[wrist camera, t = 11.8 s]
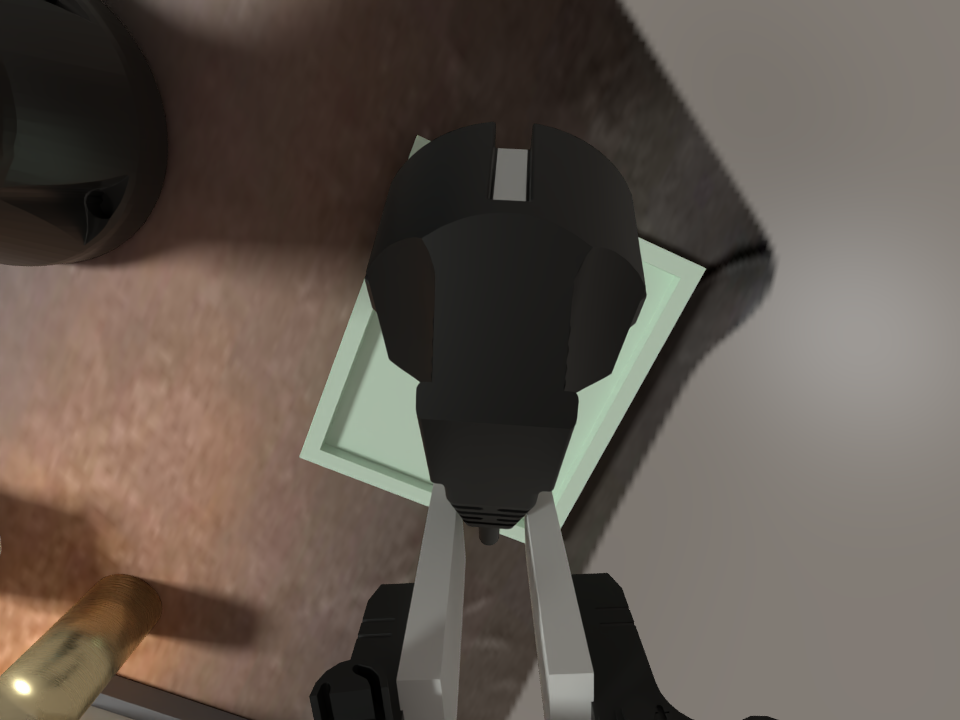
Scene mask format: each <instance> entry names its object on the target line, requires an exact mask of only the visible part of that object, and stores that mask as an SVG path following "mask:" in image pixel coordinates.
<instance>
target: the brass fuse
mask: <svg viewBox="0 0 960 720" xmlns="http://www.w3.org/2000/svg"><path fill="white" fill-rule="evenodd" d="M161 613H162V604H161V600H160V598H159V596H158V594H157V593H156V591H155V590H154V589H153V588H152V587H151V586H150V585H149V584H147V583H146V582H145V581H143V580H141V579H139V578H137V577H134V576H130V575H125V574H115V575H110V576H107V577H105V578H103V579H101V580H100V581H99V582H98V583H97V584H96V585H94V586H93V587H92V588H91V589H90V590H89V591H88V592H87V593H86V594H85V595H84V596H83V597H82V598H81V599H80V600H79V601H78V602H77V603H76V604H75V605H74V606H73V607H72V608H71V609H70V610H69V611H67V612H66V613H65V614H64V615H63V616H62V617H61V618H60V619H59V620H58V621H57V622H56V623H55V624H54V625H53V626H52V627H51V628H50V629H49V630H48V631H47V632H46V633H45V634H44V635H43V636H42V637H40V638H39V639H38V640H37V641H36V642H35V643H34V644H33V645H32V646H31V647H30V648H29V649H28V650H27V651H26V652H25V653H24V654H23V655H22V656H21V657H20V658H19V659H18V660H17V661H16V662H15V663H14V664H12V665H11V666H10V667H9V668H8V669H7V670H6V671H5V672H4V673H3V674H2V675H1V676H0V720H79V719H80V718H81V717H82V716H83V714H84V713H85V712H86V711H87V709H88V708H89V707H90V706H91V704H92V703H93V702H94V701H95V699H96V698H97V697H98V696H99V694H100V693H101V692H102V691H103V689H104V688H105V687H106V685H107V684H108V683H109V682H110V680H111V679H112V678H113V677H114V675H115V674H116V673H117V672H118V670H119V669H120V668H121V667H122V665H123V664H124V663H125V662H126V660H127V659H128V658H129V657H130V655H131V654H132V653H133V652H134V650H135V649H136V648H137V647H138V645H139V644H140V643H141V641H142V640H143V639H144V638H145V636H146V635H147V634H148V633H149V631H150V630H151V629H152V628H153V626H154V625H155V624H156V623H157V621H158V620H159V618H160V616H161Z"/></svg>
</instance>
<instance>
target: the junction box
mask: <svg viewBox="0 0 960 720" xmlns="http://www.w3.org/2000/svg"><path fill="white" fill-rule="evenodd" d="M79 720H248V719H245V718H242V717H239V716H236V715H233V714H230V713H227V712H224V711H221V710H218V709H215V708H212V707H209V706H206V705H203V704H200V703H197V702H194V701H191V700H188V699H185V698H182V697H179V696H176V695H173V694H170V693H167V692H164V691H161V690H158V689H155V688H152V687H149V686H146V685H143V684H140V683H137V682H134V681H131V680H128V679H125V678H122V677H119V676H116V675H114V677H113V678H112V679H111V680H110V682H109V683H108V684H107V685H106V687H105V688H104V689H103V691H102V692H101V693H100V694H99V696H98V697H97V698H96V699H95V701H94V702H93V703H92V704H91V706H90V707H89V708H88V709H87V711H86V712H85V713H84V714H83V716H82V717H81V718H80V719H79Z"/></svg>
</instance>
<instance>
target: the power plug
mask: <svg viewBox="0 0 960 720" xmlns="http://www.w3.org/2000/svg"><path fill="white" fill-rule="evenodd" d="M495 134H496V124H495V122H488V123H481V124H475V125H471V126H467V127H463V128H460V129H457V130H454V131H451V132H449V133H446V134H444V135H442V136H440V137H438V138H436V139H434V140H433V141H431V142H429V143H428V144H426V145H425V146H423V147H422V148H421V149H419V150H418V151H417V152H416V153H415V154H413V155H412V156H411V157H410V158H409V159H408V160H407V161H406V162H405V164H404V165H403V166H402V167H401V168H400V170H399V171H398V172H397V174H396V176H395V177H394V179H393V181H392V182H391V185H390V189H389V192H388V196H387V200H386V203H385V207H384V210H383V214H382V217H381V221H380V224H379V228H378V231H377V235H376V238H375V242H374V245H373V249H372V253H371V256H370V260H369V263H368V267H367V270H366V276H365V283H366V287H367V291H368V294H369V298H370V302H371V306H372V308H373V309H374V310H375V311H376V312H377V315H378V319H379V323H380V327H381V331H382V335H383V339H384V343H385V347H386V351H387V354H388V358H389V360H390V361H391V362H392V363H394V364H395V365H396V366H398V367H399V368H401V369H402V370H403V371H405V372H406V373H408V374H409V375H411V376H412V377H413V378H415V379H416V380H418V381H419V382H420V383H419V384H418V386H417V388H416V414H417V419H418V424H419V428H420V433H421V438H422V442H423V447H424V452H425V457H426V461H427V466H428V471H429V476H430V481H431V482H432V483H436V484H442V485H443V486H444V488H445V493H446V498H447V500H448V501H449V503H451V505H452V506H453V508H454V509H455V510H456V512H457V513H458V514H459V515H460V517H461V518H462V519H463V521H464V522H465V523H466V524H467V525H468V526H472V527H479V539H480V540H481V542H482V543H483V544H485V545H493V544H495V543H496V542H497V541H498V538H499V531H500V529H511V528H513V527H514V526H515V525H516V524H517V523H518V522H519V521H520V520H521V519H522V518H523V517H524V516H525V515H526V514H527V513H528V512H529V511H530V510H531V509H532V508H533V507H534V506H535V505H536V502H537V498H538V494H539V493H540V492H543V491H545V492H551V491H553V490H554V487H555V484H556V481H557V478H558V475H559V472H560V469H561V466H562V463H563V460H564V457H565V454H566V451H567V448H568V445H569V442H570V439H571V436H572V433H573V430H574V428H575V425H576V422H577V415H578V405H579V398H578V395H577V392H579V391H581V390H582V389H584V388H586V387H588V386H590V385H592V384H594V383H596V382H598V381H600V380H602V379H604V378H605V377H607V376H609V375H610V374H612V372H613V369H614V366H615V364H616V361H617V359H618V356H619V354H620V351H621V349H622V346H623V344H624V341H625V339H626V336H627V334H628V331H629V329H630V327H632V326H633V325H634V324H635V323H636V322H637V319H638V317H639V314H640V312H641V309H642V307H643V304H644V302H645V299H646V297H647V293H646V285H645V278H644V272H643V265H642V258H641V252H640V245H639V239H638V232H637V225H636V219H635V212H634V206H633V199H632V194H631V192H630V190H629V187H628V185H627V183H626V181H625V180H624V178H623V177H622V175H621V174H620V172H619V171H618V170H617V168H616V167H615V166H614V165H613V164H612V163H611V162H610V160H608V159H607V158H606V157H605V156H604V155H603V154H602V153H601V152H600V151H598V150H597V149H595V148H594V147H593V146H591V145H590V144H588V143H587V142H585V141H583V140H581V139H579V138H577V137H576V136H573V135H571V134H569V133H566V132H564V131H561V130H558V129H555V128H552V127H548V126H544V125H540V124H534V125H533V128H532V139H531V148H530V150H524V149H502V148H496V147H495Z"/></svg>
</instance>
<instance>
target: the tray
mask: <svg viewBox="0 0 960 720" xmlns="http://www.w3.org/2000/svg"><path fill="white" fill-rule="evenodd" d="M429 142H431V141H429V140H427V139H425V138H423V137H421V136H419V135H417V136H416V139H415V142H414V145H413V147H412V150H411V153H410V156H409V158H410V157H411V156H412V155H413V154H415V153H416V152H417V151H418V150H419V149H421V148H422V147H423V146H425V145H426V144H428V143H429ZM409 158H408V159H409ZM638 239H639V245H640V252H641V258H642V265H643V272H644V278H645V285H646V293H647V297H646V299H645V302H644V304H643V307H642V309H641V312H640V314H639V317H638V319H637V322H636V323H635V324H634V325H633V326H632V327H630V329H629V331H628V334H627V336H626V339H625V341H624V344H623V346H622V349H621V351H620V354H619V356H618V359H617V361H616V364H615V366H614V369H613V372H612V374H610V375H609V376H607V377H605V378H604V379H602V380H600V381H598V382H596V383H594V384H592V385H590V386H588V387H586V388H584V389H582V390H581V391H579V392H577V395H578V398H579V405H578V415H577V422H576V425H575V428H574V430H573V433H572V436H571V439H570V442H569V445H568V448H567V451H566V454H565V457H564V460H563V463H562V466H561V469H560V472H559V475H558V478H557V481H556V484H555V487H554V490H553V491H552V495H553V499H554V503H555V508H556V512H557V516H558V521H559V525H560V529H561V527H562V525H563V524H564V522H565V520H566V518H567V516H568V515H569V513H570V511H571V509H572V508H573V506H574V504H575V502H576V500H577V499H578V497H579V495H580V493H581V491H582V490H583V488H584V486H585V484H586V482H587V481H588V479H589V477H590V475H591V474H592V472H593V470H594V468H595V466H596V465H597V463H598V461H599V459H600V457H601V456H602V454H603V452H604V450H605V449H606V447H607V445H608V443H609V441H610V440H611V438H612V436H613V434H614V432H615V431H616V429H617V427H618V425H619V424H620V422H621V420H622V418H623V416H624V415H625V413H626V411H627V409H628V407H629V406H630V404H631V402H632V400H633V398H634V397H635V395H636V393H637V391H638V390H639V388H640V386H641V384H642V382H643V381H644V379H645V377H646V375H647V373H648V372H649V370H650V368H651V366H652V365H653V363H654V361H655V359H656V357H657V356H658V354H659V352H660V350H661V348H662V347H663V345H664V343H665V341H666V340H667V338H668V336H669V334H670V332H671V331H672V329H673V327H674V325H675V323H676V322H677V320H678V318H679V316H680V314H681V313H682V311H683V309H684V307H685V306H686V304H687V302H688V300H689V298H690V297H691V295H692V293H693V291H694V289H695V288H696V286H697V284H698V282H699V281H700V279H701V277H702V275H703V273H704V272H705V270H706V268H704V267H702V266H700V265H697V264H695V263H693V262H691V261H689V260H687V259H684V258H682V257H680V256H678V255H676V254H674V253H671V252H669V251H667V250H665V249H663V248H661V247H658V246H656V245H654V244H652V243H650V242H648V241H646V240H643V239H641V238H639V237H638ZM419 383H420V382H419V381H418V380H416V379H415V378H413V377H412V376H411V375H409V374H408V373H406V372H405V371H403V370H402V369H401V368H399V367H398V366H396V365H395V364H394V363H392V362H391V361H390V360H389V358H388V354H387V351H386V347H385V343H384V339H383V335H382V331H381V327H380V323H379V319H378V315H377V312H376V311H375V310H374V309H373V308H372V306H371V302H370V298H369V294H368V291H367V287H366V283H365V279H364V282H363V284H362V287H361V290H360V292H359V295H358V298H357V301H356V303H355V306H354V309H353V312H352V314H351V317H350V320H349V323H348V325H347V328H346V331H345V334H344V336H343V339H342V342H341V344H340V347H339V350H338V353H337V355H336V358H335V361H334V364H333V366H332V369H331V372H330V375H329V377H328V380H327V383H326V386H325V388H324V391H323V394H322V396H321V399H320V402H319V405H318V407H317V410H316V413H315V416H314V418H313V421H312V424H311V427H310V429H309V432H308V435H307V438H306V440H305V443H304V446H303V449H302V451H301V454H300V458H302V459H305V460H308V461H310V462H313V463H316V464H318V465H321V466H323V467H326V468H329V469H331V470H334V471H337V472H339V473H342V474H344V475H347V476H350V477H352V478H355V479H358V480H360V481H363V482H365V483H368V484H371V485H373V486H376V487H379V488H381V489H384V490H386V491H389V492H392V493H394V494H397V495H400V496H402V497H405V498H407V499H410V500H413V501H415V502H418V503H421V504H423V505H426V506H428V507H429V504H430V499H431V494H432V488H433V483H432V482H431V481H430V476H429V471H428V466H427V461H426V457H425V452H424V447H423V442H422V438H421V433H420V428H419V424H418V419H417V414H416V388H417V386H418V384H419ZM499 534H502V535H505V536H507V537H510V538H512V539H515V540H518V541H520V542H523V543H525V524H524V517H523V518H522V519H521V520H520V521H519V522H518V523H517V524H516V525H515V526H514V527H513V528H511V529H500V531H499Z"/></svg>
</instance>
